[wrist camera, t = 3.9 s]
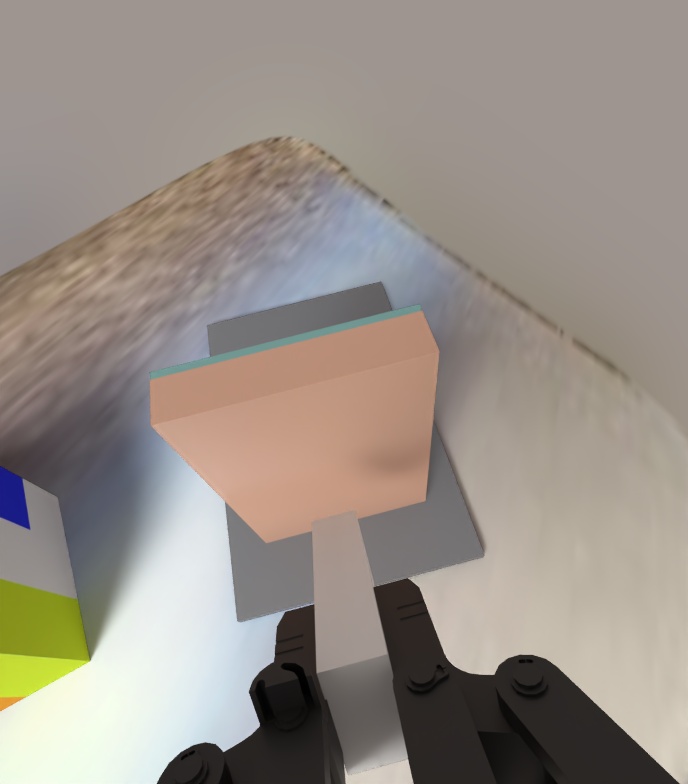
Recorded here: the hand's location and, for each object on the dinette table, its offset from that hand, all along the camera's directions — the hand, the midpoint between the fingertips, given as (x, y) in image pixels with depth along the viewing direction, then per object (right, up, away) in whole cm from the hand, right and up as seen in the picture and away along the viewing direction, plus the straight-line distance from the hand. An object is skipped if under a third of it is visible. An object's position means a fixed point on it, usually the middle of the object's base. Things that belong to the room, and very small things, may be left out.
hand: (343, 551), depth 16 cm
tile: (0, -1, +11) cm, 11 cm away
